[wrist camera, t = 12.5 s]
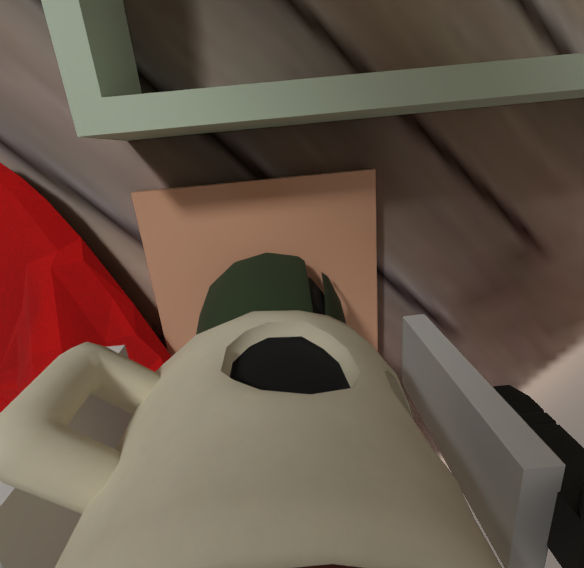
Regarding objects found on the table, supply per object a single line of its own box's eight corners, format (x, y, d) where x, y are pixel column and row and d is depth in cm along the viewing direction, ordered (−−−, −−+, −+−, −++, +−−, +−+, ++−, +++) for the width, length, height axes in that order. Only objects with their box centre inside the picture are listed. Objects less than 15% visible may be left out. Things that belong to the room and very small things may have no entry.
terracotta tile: (189, 419, 20) (186, 430, 19) (137, 190, 16) (130, 192, 15) (374, 400, 20) (378, 409, 19) (370, 168, 16) (375, 169, 15)
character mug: (410, 315, 17) (737, 698, 5) (320, 419, 19) (411, 886, 7) (209, 179, 15) (-64, 313, 3) (127, 314, 17) (-265, 768, 4)
